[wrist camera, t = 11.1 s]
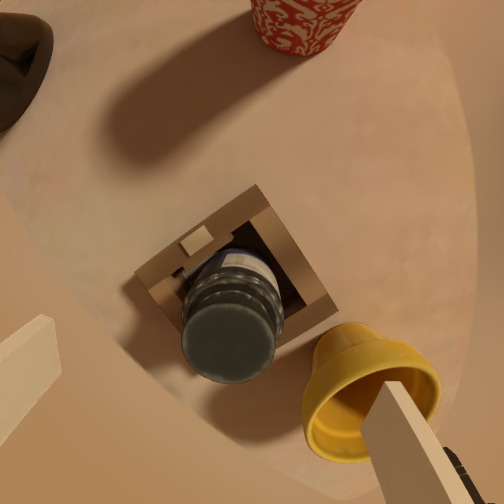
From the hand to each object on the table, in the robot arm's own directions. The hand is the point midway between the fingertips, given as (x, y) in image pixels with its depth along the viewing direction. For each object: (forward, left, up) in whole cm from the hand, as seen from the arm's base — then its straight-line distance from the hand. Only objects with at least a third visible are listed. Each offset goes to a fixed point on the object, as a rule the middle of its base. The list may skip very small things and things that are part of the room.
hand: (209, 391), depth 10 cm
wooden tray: (0, 0, -15) cm, 15 cm away
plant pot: (+12, +4, -15) cm, 20 cm away
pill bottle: (0, 0, -15) cm, 15 cm away
